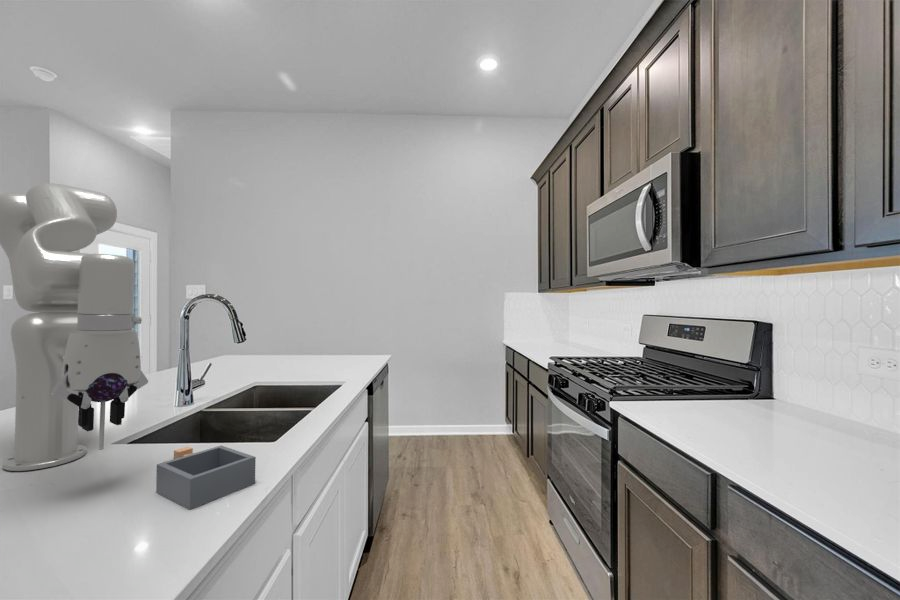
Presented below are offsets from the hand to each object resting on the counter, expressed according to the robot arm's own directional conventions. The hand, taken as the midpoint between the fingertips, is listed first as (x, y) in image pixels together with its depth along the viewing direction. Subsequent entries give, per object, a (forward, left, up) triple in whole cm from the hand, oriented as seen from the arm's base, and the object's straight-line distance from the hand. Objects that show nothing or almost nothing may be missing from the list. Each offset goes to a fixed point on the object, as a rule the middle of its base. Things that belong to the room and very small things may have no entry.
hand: (101, 425), depth 71 cm
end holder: (+14, +11, -12) cm, 21 cm away
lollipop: (0, 0, -4) cm, 4 cm away
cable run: (+1, +14, -12) cm, 18 cm away
